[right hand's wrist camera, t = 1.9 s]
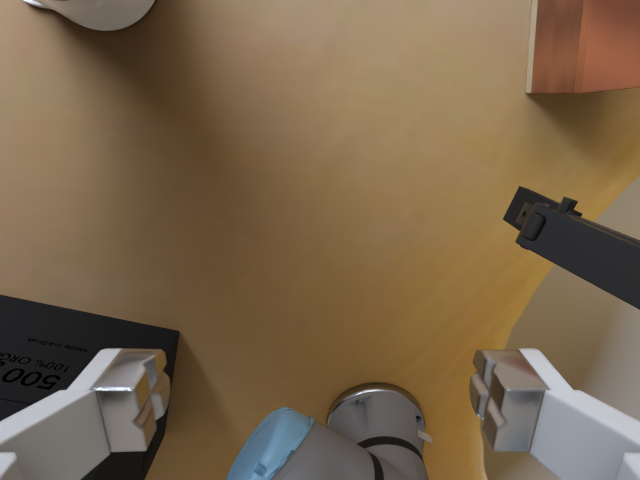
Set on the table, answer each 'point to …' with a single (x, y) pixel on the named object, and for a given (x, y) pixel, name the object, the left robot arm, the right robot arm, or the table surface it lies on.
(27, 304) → the cardboard box
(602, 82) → the lid
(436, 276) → the table surface
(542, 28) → the chest
